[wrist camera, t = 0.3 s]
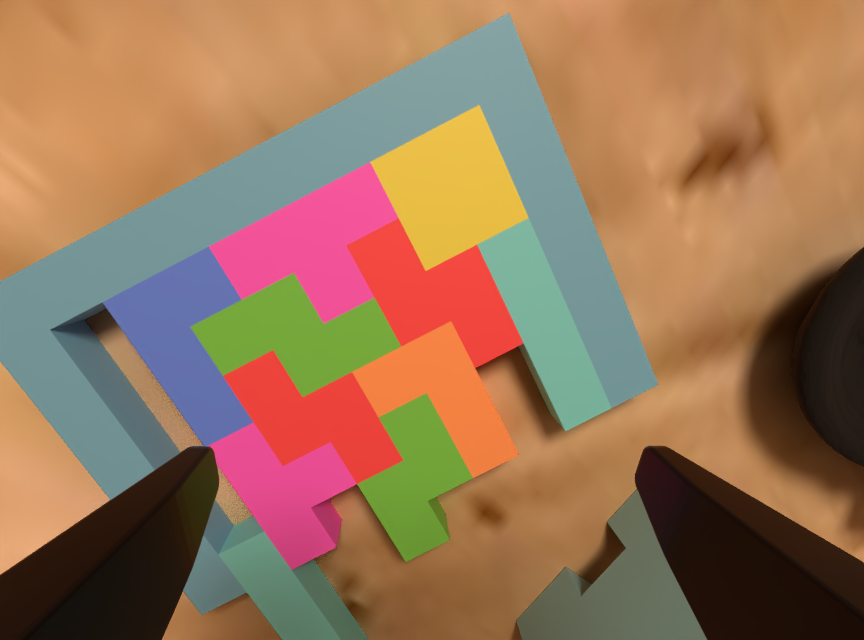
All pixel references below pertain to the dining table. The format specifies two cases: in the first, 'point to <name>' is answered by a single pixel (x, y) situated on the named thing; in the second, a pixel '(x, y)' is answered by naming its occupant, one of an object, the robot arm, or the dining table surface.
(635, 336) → the tetris game
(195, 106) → the dining table surface
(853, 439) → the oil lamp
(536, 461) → the dining table surface
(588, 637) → the teal plate
